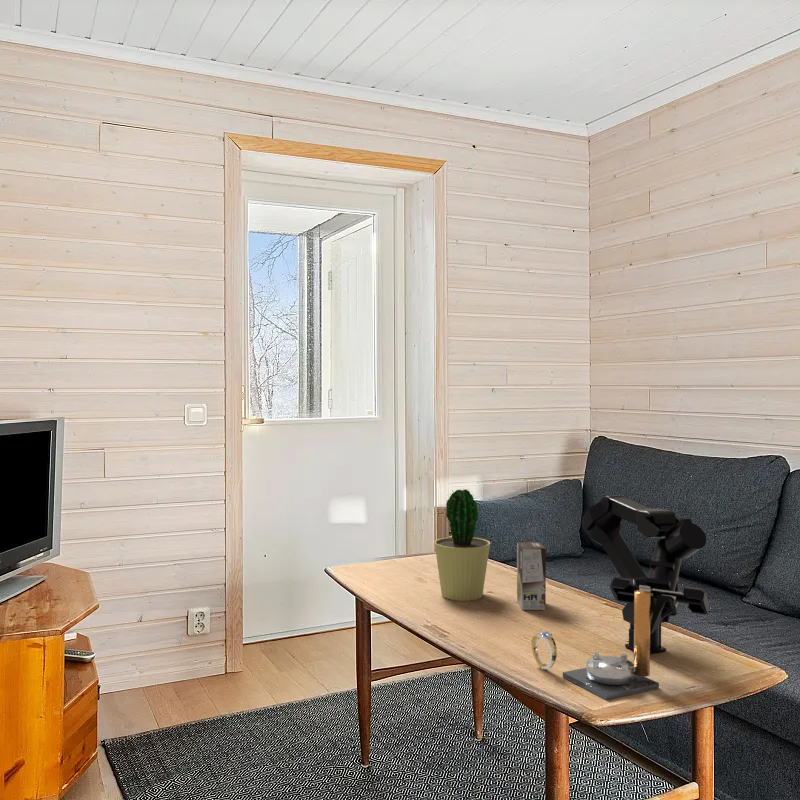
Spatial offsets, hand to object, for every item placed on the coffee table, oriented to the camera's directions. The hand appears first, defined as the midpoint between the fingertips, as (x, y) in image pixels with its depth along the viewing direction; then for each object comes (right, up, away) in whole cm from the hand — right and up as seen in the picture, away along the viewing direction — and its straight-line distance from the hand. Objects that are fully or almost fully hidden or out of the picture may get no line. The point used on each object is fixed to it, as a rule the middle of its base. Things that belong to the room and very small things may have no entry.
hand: (649, 632), depth 161 cm
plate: (-8, -10, -1) cm, 13 cm away
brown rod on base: (-7, -8, -1) cm, 11 cm away
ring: (-20, -10, +7) cm, 23 cm away
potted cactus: (-32, -8, +64) cm, 72 cm away
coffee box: (-15, -9, +54) cm, 57 cm away
